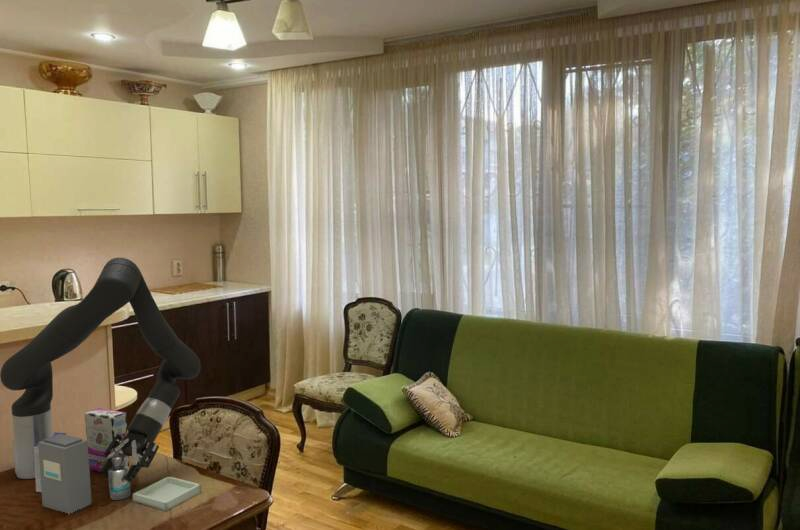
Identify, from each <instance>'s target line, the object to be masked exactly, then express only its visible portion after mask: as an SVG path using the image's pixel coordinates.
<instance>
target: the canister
mask: <svg viewBox="0 0 800 530" xmlns="http://www.w3.org/2000/svg"><path fill="white" fill-rule="evenodd" d="M129 469H130V465H129V466H127V465H124V456H123V455H117V456H113V457H112V468H110V469H109V470H108V476H107V477H108V489H109V499H110V500H111V499H112V501H119V500H124V499H127V498H129V497H130V496H131V495H132V490H131V485H132V484H131V483H130V482H127V481H126V480H125V479H124V478H125V476H126V474H127V472H128V471H129Z"/></svg>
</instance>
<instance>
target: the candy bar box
mask: <svg viewBox="0 0 800 530" xmlns="http://www.w3.org/2000/svg"><path fill="white" fill-rule="evenodd" d="M84 417H85V418H84V421H85V431H86V435H85V437H86V440H87V441H88V456H89V471H92V470H93V471H92V472H96V471H97V473H100V472H101V470H102V468H103V466H104V465H105V463H106V461H107V460H108V458H107V457H106V456H105V455H104V453H105V451H106V450H107V448H108V447H109V445H110V444H111V442H112V441H113V439H114V438H115V436H116V435H117V434H119V435H121V436H122V437H125V436H126V435H127V434H128V422H127V420H128V419H127V412H125V411H120V410H119V411H117V410H112V409H105V408H96V409H92V410H90V411H87V412H84ZM113 450H114V449H112V450H111V452H110V453H112V451H113ZM121 451H122V449H121ZM115 456H117V455H115ZM129 457H130V456H126V457H124V465H127V466H129V467H130V459H129Z"/></svg>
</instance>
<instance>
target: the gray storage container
mask: <svg viewBox="0 0 800 530" xmlns="http://www.w3.org/2000/svg"><path fill="white" fill-rule="evenodd" d="M38 449H39V462H40V476H41V490H42V492H41V500H42V507H45V508H48V509H51V510H54V511H56V512H60V511H61V512H60V513H63V512H65V513H64V514H66V513H68V514H67V515H71V514H74V513H75V511H76V512H78V511H80V510H82V509H84V508H86V507H88V506H91V505H92V491H91V490H92V489H91V476H90V475H91V473H90V471H91V470H89V456H88V441H87V439H82V438H80V437H77V436H76V437H75V436H73V435H72V436H71V435H68V434H66V435H64V434H58V435H55V436H52V437H49V438H46V439H43V441H41V442H38ZM79 509H80V510H79ZM77 510H78V511H77ZM73 512H74V513H73ZM70 513H71V514H70Z"/></svg>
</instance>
